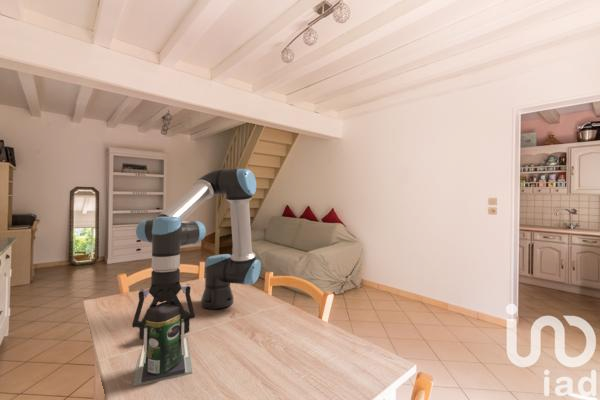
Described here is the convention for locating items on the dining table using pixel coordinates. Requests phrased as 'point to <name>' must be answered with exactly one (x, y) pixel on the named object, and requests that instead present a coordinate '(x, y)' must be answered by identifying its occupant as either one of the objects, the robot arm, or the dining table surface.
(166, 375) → the pad
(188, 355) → the board
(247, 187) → the robot arm
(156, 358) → the coffee jar
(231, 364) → the dining table surface
